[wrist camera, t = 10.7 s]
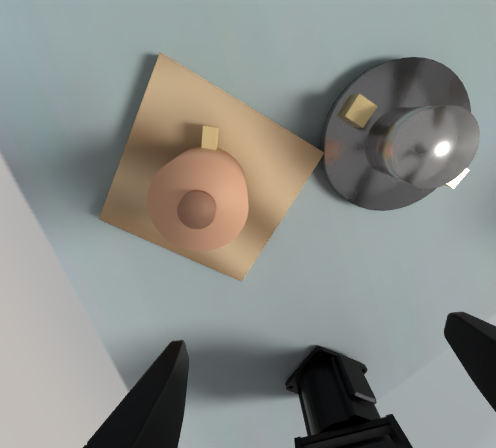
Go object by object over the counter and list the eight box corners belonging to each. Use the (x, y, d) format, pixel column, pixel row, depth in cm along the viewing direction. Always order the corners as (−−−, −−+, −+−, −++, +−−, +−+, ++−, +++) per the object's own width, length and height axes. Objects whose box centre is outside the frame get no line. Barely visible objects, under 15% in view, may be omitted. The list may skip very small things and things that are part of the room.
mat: (241, 274, 23) (241, 281, 22) (105, 214, 20) (98, 218, 19) (320, 150, 19) (324, 152, 18) (164, 55, 16) (159, 52, 15)
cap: (166, 233, 20) (143, 271, 15) (168, 119, 17) (140, 121, 12) (238, 241, 20) (238, 281, 16) (254, 132, 17) (260, 139, 12)
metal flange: (394, 226, 22) (437, 257, 17) (293, 168, 19) (311, 185, 15) (489, 111, 18) (574, 110, 14) (381, 26, 16) (439, -9, 12)
